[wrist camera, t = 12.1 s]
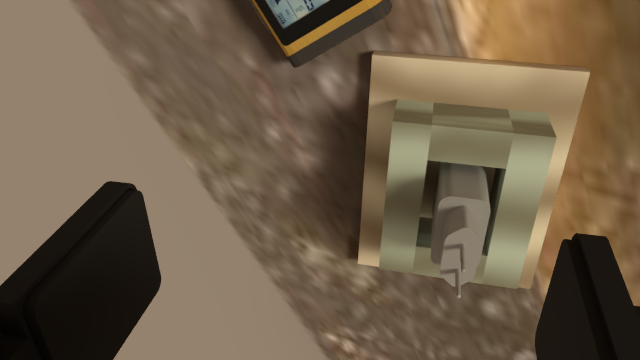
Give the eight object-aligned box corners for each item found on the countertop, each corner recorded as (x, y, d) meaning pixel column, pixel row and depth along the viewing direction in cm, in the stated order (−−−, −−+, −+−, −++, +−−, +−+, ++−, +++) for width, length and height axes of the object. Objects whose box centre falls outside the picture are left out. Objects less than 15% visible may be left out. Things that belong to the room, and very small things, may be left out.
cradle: (373, 50, 38) (364, 73, 33) (586, 67, 35) (605, 93, 31) (359, 256, 47) (350, 295, 42) (528, 280, 44) (537, 323, 40)
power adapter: (485, 149, 38) (499, 249, 28) (473, 213, 41) (481, 325, 31) (441, 144, 39) (438, 241, 29) (431, 208, 42) (426, 316, 31)
